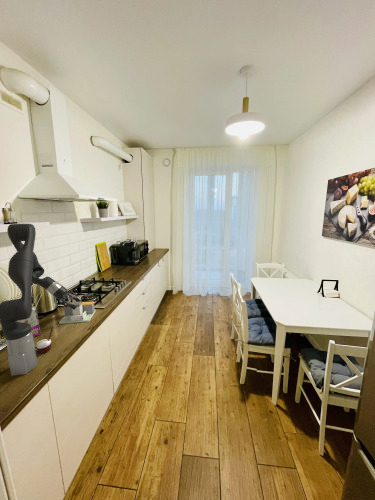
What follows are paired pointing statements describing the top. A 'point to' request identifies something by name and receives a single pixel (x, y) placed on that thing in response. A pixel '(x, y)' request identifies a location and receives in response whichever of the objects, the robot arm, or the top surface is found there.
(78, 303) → the white grey-topped block
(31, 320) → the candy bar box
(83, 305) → the orange-topped grey blocks
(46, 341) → the cocoa
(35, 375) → the top surface
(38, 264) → the robot arm
